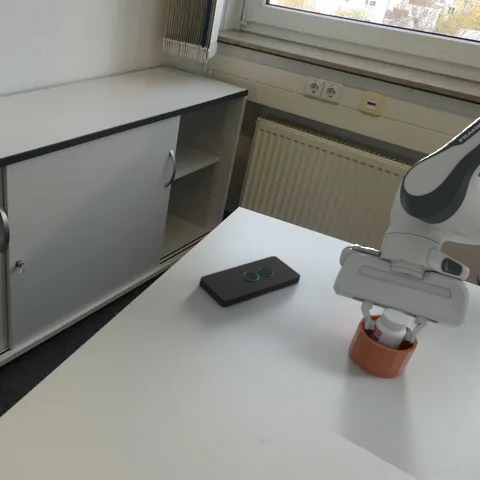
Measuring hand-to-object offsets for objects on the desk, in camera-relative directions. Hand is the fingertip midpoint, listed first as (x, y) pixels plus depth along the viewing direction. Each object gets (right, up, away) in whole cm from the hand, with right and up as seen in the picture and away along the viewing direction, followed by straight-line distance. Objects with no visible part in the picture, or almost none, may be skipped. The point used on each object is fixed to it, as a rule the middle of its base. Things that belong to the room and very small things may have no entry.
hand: (387, 336), depth 89 cm
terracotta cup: (0, -4, +4) cm, 6 cm away
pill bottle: (0, -3, +3) cm, 5 cm away
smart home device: (-18, +7, +19) cm, 27 cm away
